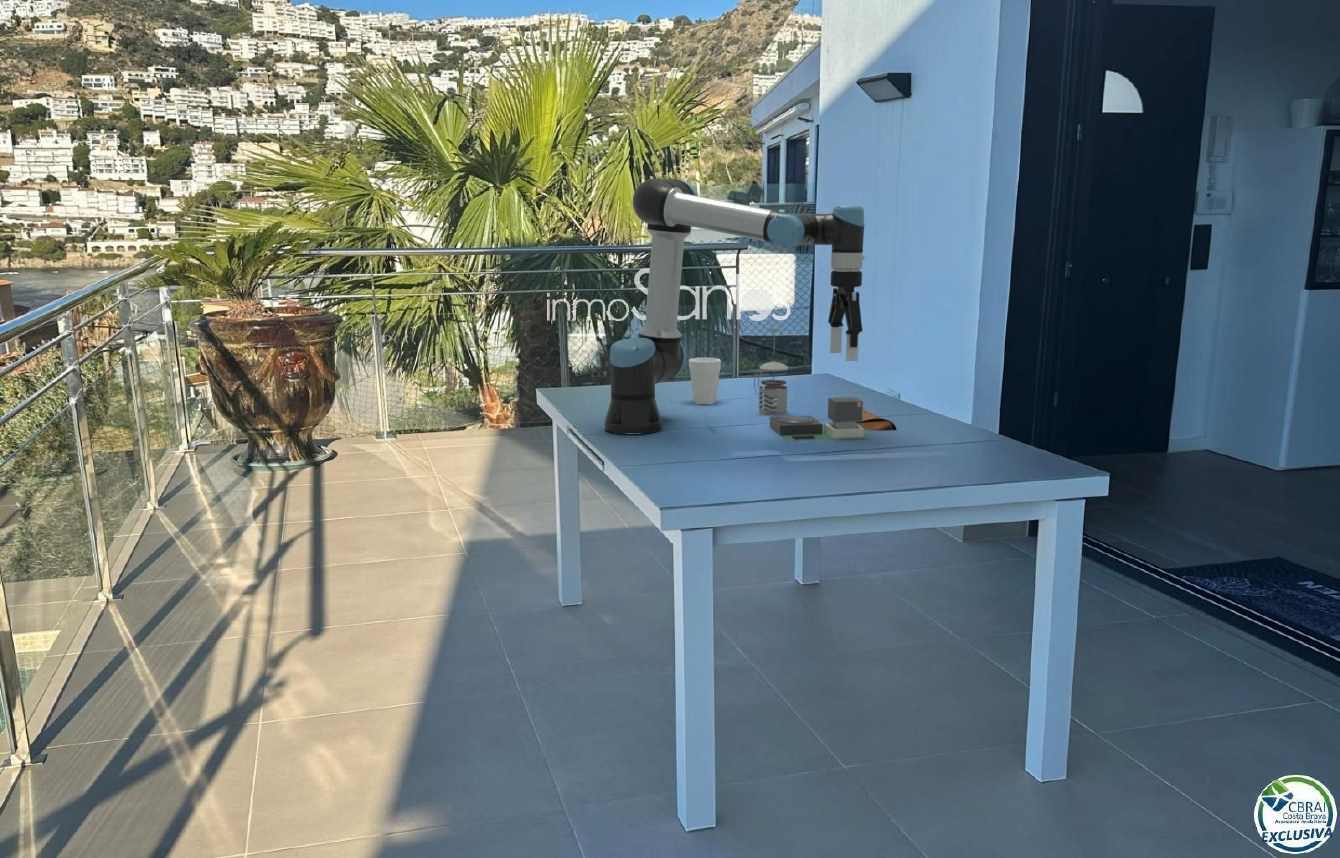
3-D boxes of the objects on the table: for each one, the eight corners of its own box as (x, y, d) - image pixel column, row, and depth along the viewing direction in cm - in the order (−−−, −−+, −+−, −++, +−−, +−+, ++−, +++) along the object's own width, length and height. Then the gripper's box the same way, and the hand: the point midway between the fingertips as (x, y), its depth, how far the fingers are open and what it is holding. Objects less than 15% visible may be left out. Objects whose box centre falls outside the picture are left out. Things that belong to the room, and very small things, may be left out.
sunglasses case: (836, 422, 278) (848, 401, 278) (856, 434, 281) (868, 412, 280) (867, 436, 261) (880, 413, 261) (888, 448, 264) (901, 426, 264)
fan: (779, 435, 258) (779, 424, 257) (769, 426, 269) (769, 416, 268) (822, 433, 259) (822, 423, 259) (810, 424, 270) (810, 414, 270)
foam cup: (726, 401, 310) (726, 359, 307) (710, 406, 302) (710, 363, 299) (699, 399, 315) (699, 356, 312) (683, 403, 307) (683, 360, 304)
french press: (773, 421, 282) (775, 329, 276) (743, 414, 290) (744, 326, 285) (797, 416, 288) (799, 327, 283) (767, 410, 296) (769, 323, 291)
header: (832, 438, 254) (832, 429, 254) (824, 432, 261) (824, 423, 261) (863, 437, 255) (863, 428, 255) (854, 431, 262) (855, 422, 262)
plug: (834, 437, 255) (835, 402, 253) (827, 432, 261) (828, 397, 259) (861, 436, 256) (862, 401, 254) (854, 431, 262) (855, 396, 260)
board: (786, 446, 251) (786, 434, 251) (769, 430, 269) (769, 420, 268) (873, 442, 254) (873, 431, 254) (850, 428, 272) (851, 417, 271)
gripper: (878, 273, 239) (874, 363, 243) (846, 267, 263) (843, 349, 268) (846, 273, 238) (843, 364, 242) (817, 267, 262) (815, 350, 267)
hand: (843, 356), depth 255 cm, fingers open, 13 cm apart
